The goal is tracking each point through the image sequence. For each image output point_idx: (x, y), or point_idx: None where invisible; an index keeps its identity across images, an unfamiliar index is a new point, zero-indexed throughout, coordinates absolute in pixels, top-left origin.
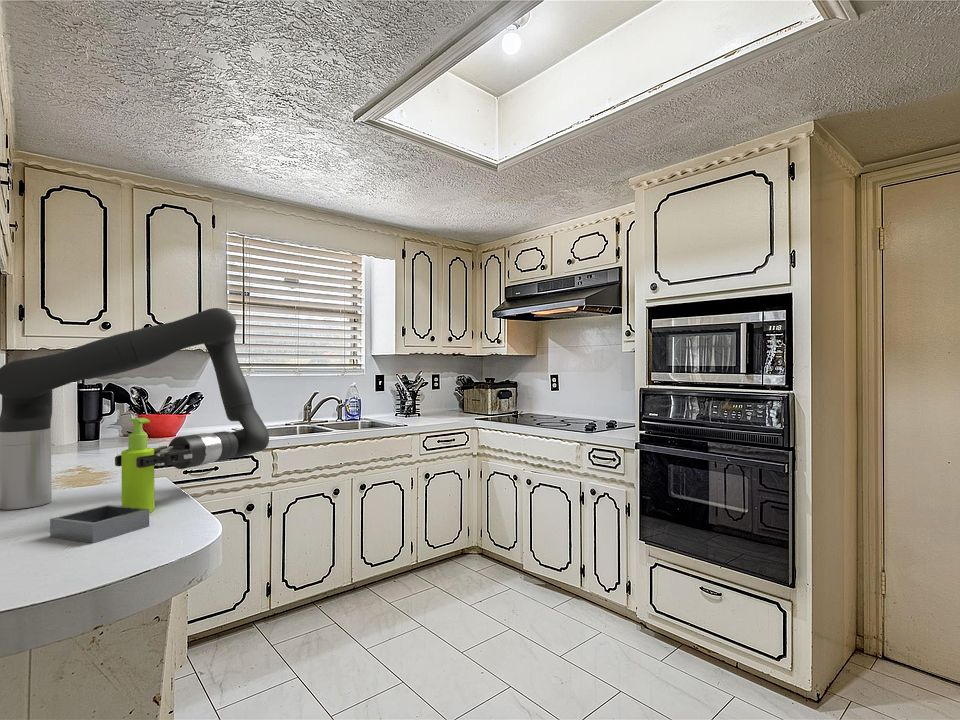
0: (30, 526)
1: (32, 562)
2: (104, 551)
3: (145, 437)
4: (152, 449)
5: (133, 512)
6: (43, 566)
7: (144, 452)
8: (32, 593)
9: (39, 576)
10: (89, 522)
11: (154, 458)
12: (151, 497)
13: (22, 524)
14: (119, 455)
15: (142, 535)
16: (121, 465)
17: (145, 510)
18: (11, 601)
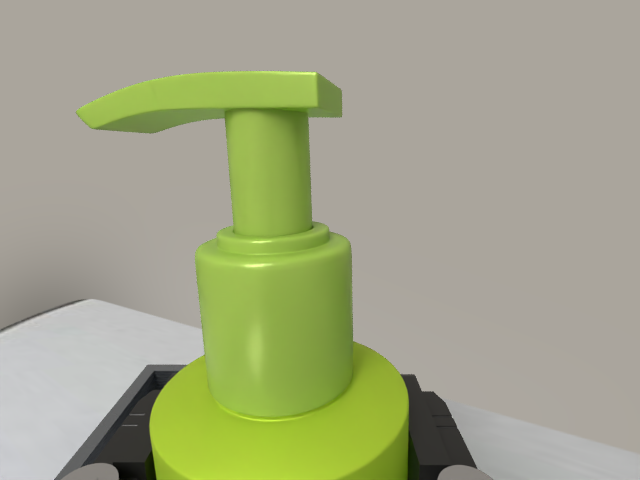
0: (482, 439)
1: (189, 343)
2: (85, 385)
3: (198, 285)
4: (164, 437)
5: (91, 442)
6: (153, 340)
7: (173, 377)
8: (94, 311)
9: (127, 327)
10: (167, 369)
11: (101, 459)
12: None
13: (535, 444)
14: (414, 385)
15: (38, 467)
16: None
17: (58, 477)
18: (104, 302)
